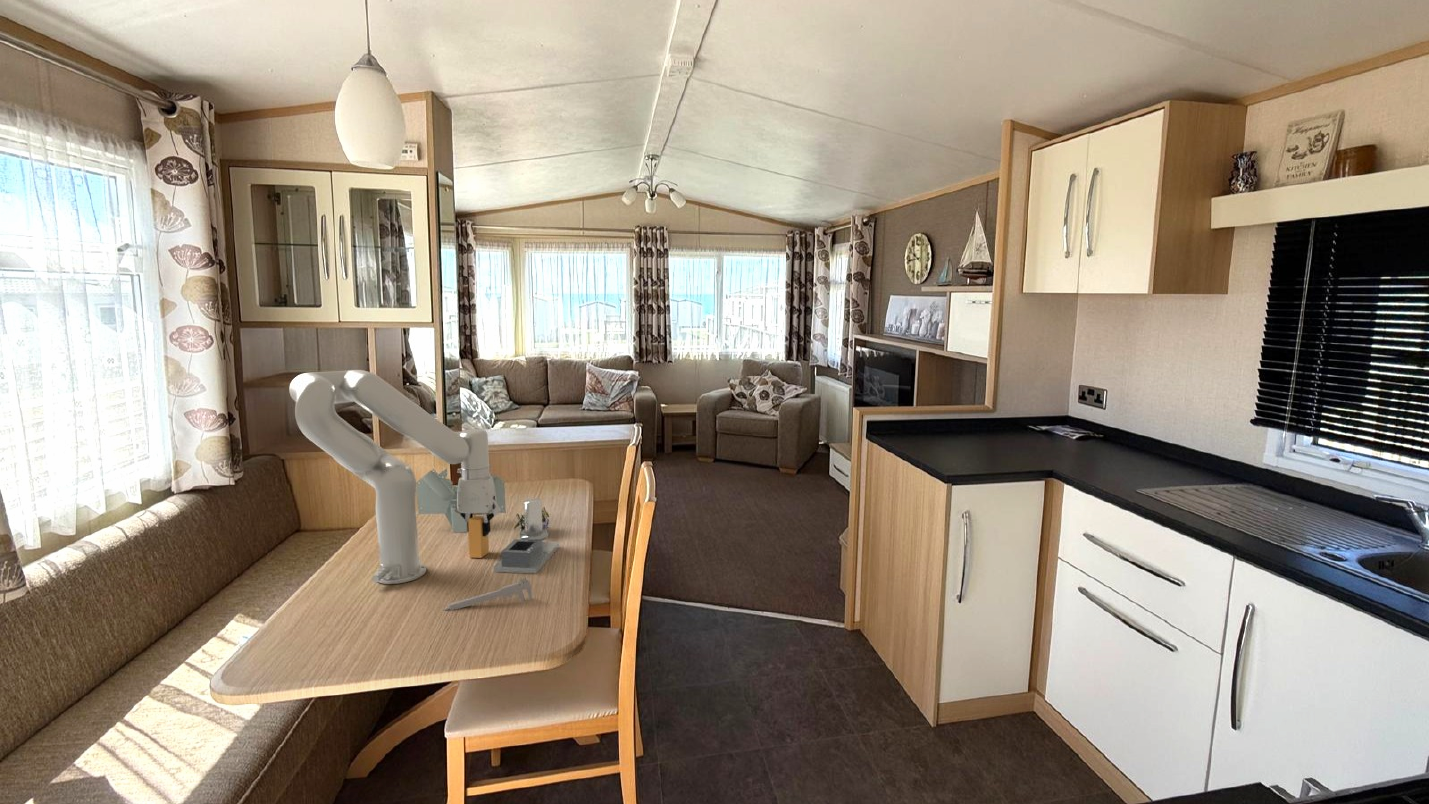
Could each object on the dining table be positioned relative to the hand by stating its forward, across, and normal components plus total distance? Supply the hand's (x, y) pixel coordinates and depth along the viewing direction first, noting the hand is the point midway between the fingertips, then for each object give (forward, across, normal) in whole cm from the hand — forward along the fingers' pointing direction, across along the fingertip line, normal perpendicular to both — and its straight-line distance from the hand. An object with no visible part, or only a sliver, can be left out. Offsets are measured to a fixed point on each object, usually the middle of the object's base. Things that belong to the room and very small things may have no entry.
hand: (479, 533), depth 194 cm
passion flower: (+6, +9, +17) cm, 20 cm away
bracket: (+6, -15, +20) cm, 26 cm away
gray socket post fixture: (+6, +15, -2) cm, 16 cm away
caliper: (+7, +16, -30) cm, 35 cm away
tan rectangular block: (+6, 0, -1) cm, 6 cm away
